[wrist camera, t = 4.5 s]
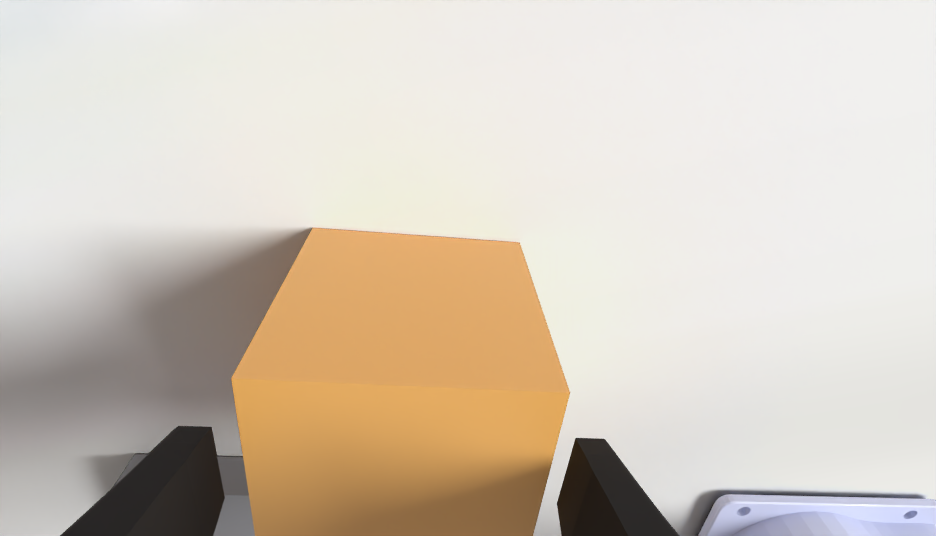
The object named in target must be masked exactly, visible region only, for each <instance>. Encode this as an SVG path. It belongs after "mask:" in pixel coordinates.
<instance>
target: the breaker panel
mask: <svg viewBox="0 0 936 536" xmlns="http://www.w3.org/2000/svg"><path fill="white" fill-rule="evenodd" d="M147 455H148V454H135V455H134V456H133V458H132V459H131V461H130V462H129V464H128V465H127V467H126V468H125V470H124V471H123V473H122V474H121V476H120V477H119V479H118V480H117V482H116V483H115V485H116V484H117V483H118V482H119V481H120V480H121V479H123V478H124V477H125V476H126V475H127V474H128V473H129V472H130V471H131V470H132V469H133V468H134V467H135V466H136V465H137V464H138V463H139V462H140V461H141V460H142V459H144V458H145V457H146V456H147ZM217 459H218V464H219V469H220V475H221V480H222V485H223V491H224V496H225V499H224V502H223V506H222V509H221V512H220V515H219V519H218V522H217V525H216V529H215V532H214V535H213V536H255V532H254V526H253V519H252V512H251V506H250V499H249V493H248V486H247V479H246V473H245V466H244V460H243V457H221V456H217ZM115 485H114V486H115ZM114 486H113V487H114Z"/></svg>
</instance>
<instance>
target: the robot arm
mask: <svg viewBox="0 0 936 536" xmlns="http://www.w3.org/2000/svg"><path fill="white" fill-rule="evenodd" d="M224 499H225V496H224V491H223V485H222V480H221V475H220V469H219V464H218V459H217V454H216V448H215V443H214V438H213V432H212V427H193V426H178V427H177V428H175V429H174V430H173V431H172V432H171V433H170V434H169V435H168V436H167V437H165V438H164V439H163V440H162V441H161V442H160V443H159V444H158V445H157V446H156V447H155V448H154V449H153V450H152V451H151V452H150V453H149V454H148V455H147V456H146V457H145V458H144V459H142V460H141V461H140V462H139V463H138V464H137V465H136V466H135V467H134V468H133V469H132V470H131V471H130V472H129V473H128V474H127V475H126V476H125V477H124V478H123V479H121V480H120V481H119V482H118V483H117V484H116V485H115V486H114V487H113V488H112V489H111V490H110V491H109V492H108V493H107V494H105V495H104V496H103V497H102V498H101V499H100V500H99V501H98V502H97V503H96V504H95V505H93V506H92V507H91V508H90V509H89V510H88V511H87V512H86V513H85V514H84V515H82V516H81V517H80V518H79V519H78V520H77V521H76V522H75V523H74V524H73V525H72V526H70V527H69V528H68V529H67V530H66V531H65V532H64V533H63V534H61V535H60V536H213V535H214V532H215V529H216V525H217V522H218V519H219V515H220V512H221V509H222V506H223V502H224ZM557 506H558V513H559V520H560V527H561V534H562V536H679V535H678V534H677V532H676V531H675V530H674V529H673V527H672V526H671V525H670V524H669V522H668V521H667V520H666V519H665V518H664V516H663V515H662V514H661V513H660V511H659V510H658V509H657V507H656V506H655V505H654V504H653V502H652V501H651V500H650V498H649V497H648V496H647V494H646V493H645V492H644V491H643V489H642V488H641V487H640V485H639V484H638V483H637V481H636V480H635V479H634V477H633V476H632V475H631V473H630V472H629V471H628V469H627V468H626V467H625V465H624V464H623V463H622V461H621V460H620V459H619V457H618V456H617V455H616V453H615V452H614V451H613V449H612V448H611V447H610V445H609V444H608V443H607V442H606V440H605V439H591V438H576V439H575V442H574V446H573V449H572V453H571V456H570V460H569V463H568V467H567V470H566V474H565V477H564V481H563V484H562V488H561V491H560V495H559V498H558V502H557ZM698 536H936V500H934V499H911V498H868V497H825V496H783V495H740V494H728V495H724V496H721V497H720V498H718V499H717V500H716V501H715V503H714V505H713V507H712V509H711V511H710V513H709V515H708V517H707V519H706V521H705V523H704V525H703V527H702V529H701V531H700V533H699V535H698Z"/></svg>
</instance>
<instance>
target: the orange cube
mask: <svg viewBox="0 0 936 536" xmlns="http://www.w3.org/2000/svg"><path fill="white" fill-rule="evenodd" d="M231 381H232V387H233V394H234V400H235V407H236V414H237V420H238V427H239V433H240V440H241V446H242V453H243V460H244V466H245V473H246V479H247V486H248V493H249V499H250V506H251V512H252V519H253V526H254V532H255V536H533V533H534V529H535V525H536V522H537V518H538V514H539V510H540V506H541V502H542V498H543V495H544V491H545V487H546V483H547V479H548V475H549V472H550V468H551V464H552V460H553V456H554V452H555V449H556V445H557V441H558V437H559V433H560V429H561V425H562V422H563V418H564V414H565V410H566V406H567V402H568V399H569V395H570V391H569V388H568V385H567V382H566V380H565V377H564V374H563V371H562V368H561V365H560V362H559V359H558V356H557V353H556V350H555V347H554V344H553V341H552V338H551V335H550V332H549V329H548V326H547V323H546V320H545V317H544V314H543V311H542V308H541V305H540V302H539V299H538V296H537V293H536V290H535V287H534V284H533V281H532V278H531V275H530V272H529V269H528V266H527V263H526V260H525V257H524V254H523V251H522V248H521V245H520V243H517V242H503V241H490V240H476V239H462V238H448V237H434V236H420V235H406V234H392V233H378V232H364V231H350V230H336V229H322V228H312V230H311V232H310V234H309V236H308V237H307V239H306V241H305V243H304V245H303V247H302V248H301V250H300V252H299V254H298V256H297V258H296V260H295V261H294V263H293V265H292V267H291V269H290V271H289V272H288V274H287V276H286V278H285V280H284V282H283V284H282V285H281V287H280V289H279V291H278V293H277V295H276V296H275V298H274V300H273V302H272V304H271V306H270V308H269V309H268V311H267V313H266V315H265V317H264V319H263V320H262V322H261V324H260V326H259V328H258V330H257V332H256V333H255V335H254V337H253V339H252V341H251V343H250V345H249V346H248V348H247V350H246V352H245V354H244V356H243V357H242V359H241V361H240V363H239V365H238V367H237V369H236V370H235V372H234V374H233V376H232V378H231Z"/></svg>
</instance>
